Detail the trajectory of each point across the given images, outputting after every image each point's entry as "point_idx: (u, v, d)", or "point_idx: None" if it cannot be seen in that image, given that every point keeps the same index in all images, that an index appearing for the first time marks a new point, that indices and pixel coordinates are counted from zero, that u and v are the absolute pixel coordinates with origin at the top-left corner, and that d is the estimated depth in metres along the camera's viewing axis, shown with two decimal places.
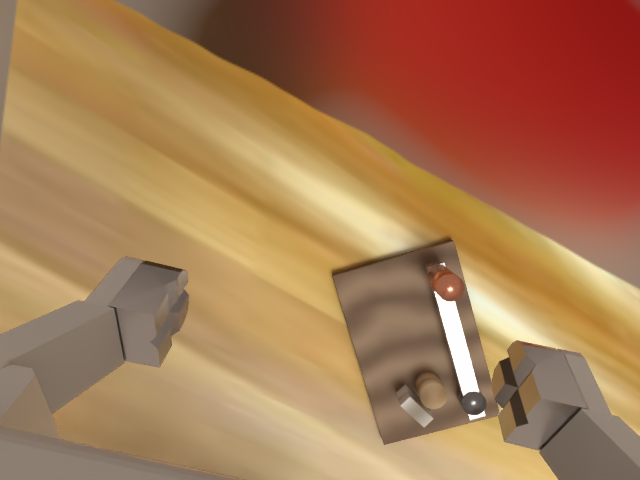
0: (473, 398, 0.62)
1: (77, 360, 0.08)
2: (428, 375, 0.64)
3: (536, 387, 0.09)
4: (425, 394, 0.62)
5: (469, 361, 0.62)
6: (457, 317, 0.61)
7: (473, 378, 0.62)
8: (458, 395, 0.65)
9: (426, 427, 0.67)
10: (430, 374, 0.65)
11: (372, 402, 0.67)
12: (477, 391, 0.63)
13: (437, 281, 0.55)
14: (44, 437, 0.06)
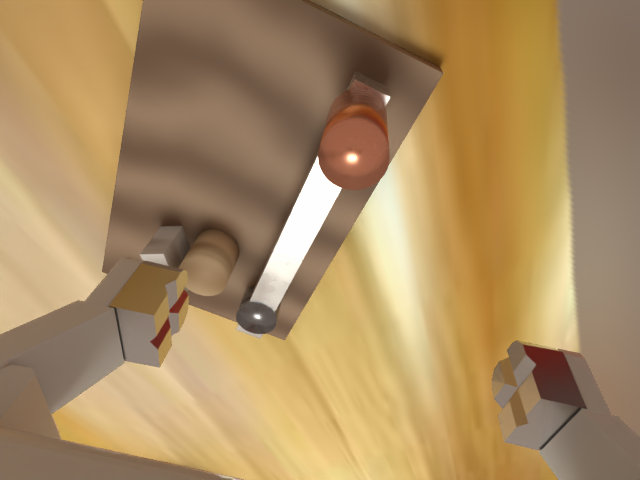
0: (260, 314, 0.37)
1: (77, 360, 0.08)
2: (222, 243, 0.35)
3: (536, 387, 0.09)
4: (191, 267, 0.33)
5: (293, 272, 0.34)
6: (329, 204, 0.30)
7: (281, 293, 0.35)
8: (247, 292, 0.38)
9: None
10: (227, 242, 0.35)
11: (113, 213, 0.36)
12: (273, 310, 0.36)
13: (340, 121, 0.21)
14: (44, 437, 0.06)
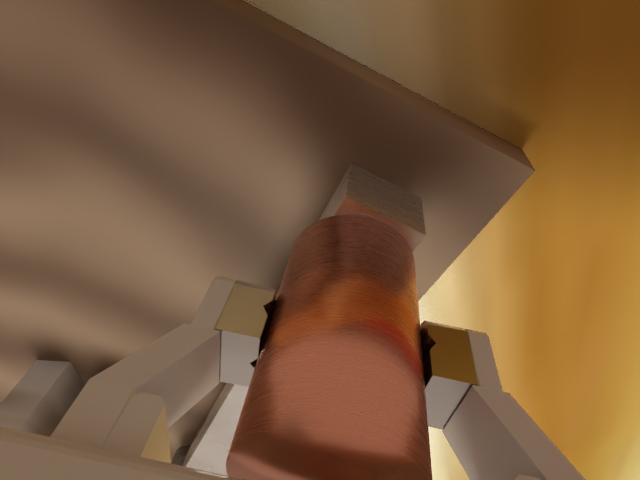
0: None
1: (185, 384, 0.08)
2: None
3: (432, 365, 0.09)
4: None
5: None
6: None
7: None
8: (177, 455, 0.24)
9: None
10: None
11: None
12: None
13: (289, 393, 0.07)
14: (44, 437, 0.06)
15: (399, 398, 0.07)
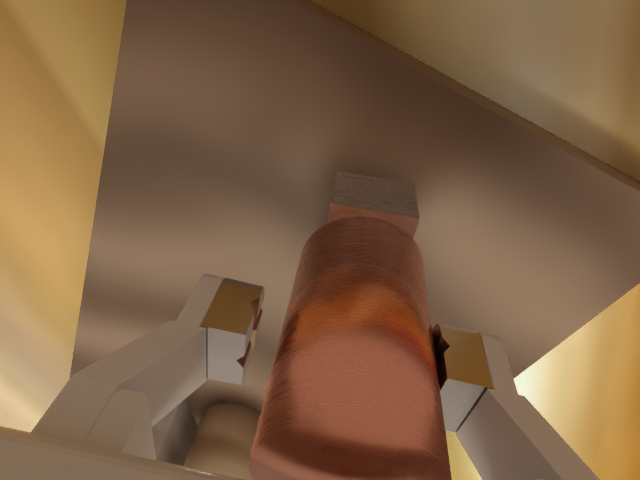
0: None
1: (171, 381, 0.08)
2: (247, 435, 0.22)
3: (446, 368, 0.09)
4: None
5: None
6: None
7: None
8: None
9: None
10: (254, 429, 0.22)
11: (74, 373, 0.23)
12: None
13: (286, 398, 0.07)
14: (44, 437, 0.06)
15: (392, 382, 0.07)
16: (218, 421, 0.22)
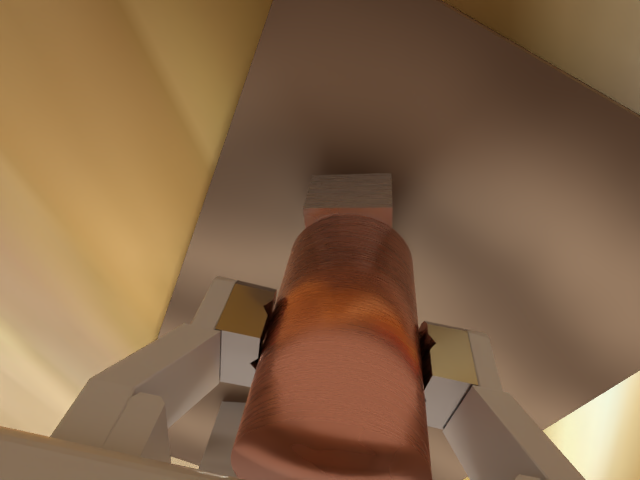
0: None
1: (185, 384, 0.08)
2: None
3: (432, 365, 0.09)
4: None
5: None
6: None
7: None
8: None
9: None
10: None
11: None
12: None
13: (253, 401, 0.07)
14: (44, 437, 0.06)
15: (351, 372, 0.07)
16: None
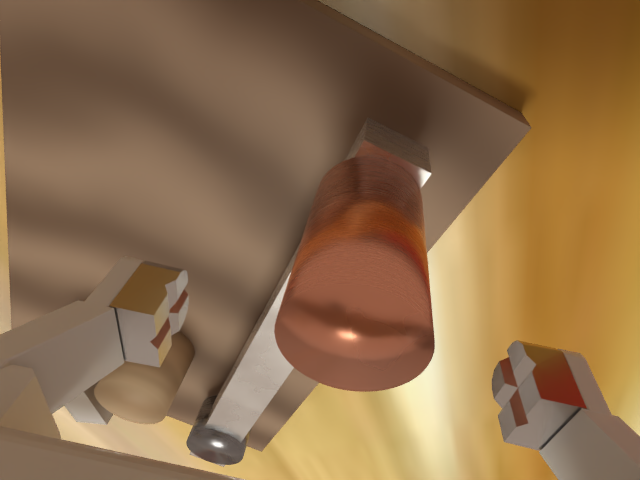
0: (219, 444, 0.25)
1: (77, 360, 0.08)
2: None
3: (536, 387, 0.09)
4: (112, 390, 0.22)
5: (264, 401, 0.22)
6: None
7: (248, 423, 0.24)
8: (205, 404, 0.27)
9: None
10: (173, 344, 0.24)
11: (13, 292, 0.25)
12: (238, 440, 0.25)
13: (325, 266, 0.09)
14: (44, 437, 0.06)
15: (408, 273, 0.09)
16: None
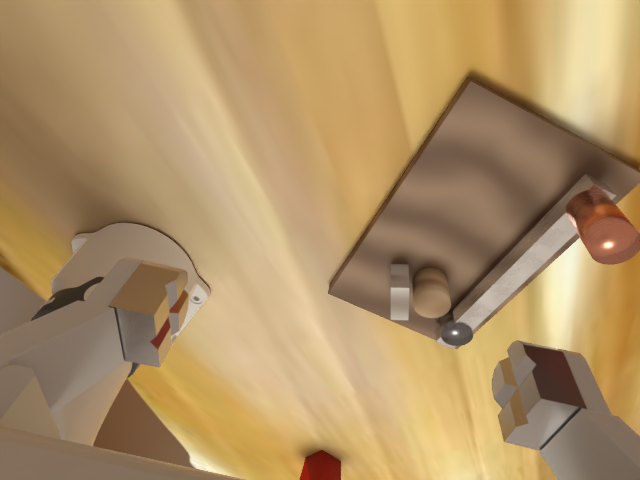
0: (462, 331, 0.49)
1: (77, 360, 0.08)
2: (442, 279, 0.47)
3: (536, 387, 0.09)
4: (426, 298, 0.46)
5: (499, 303, 0.46)
6: (545, 259, 0.42)
7: (483, 317, 0.47)
8: (446, 314, 0.50)
9: (383, 310, 0.53)
10: (444, 278, 0.48)
11: (357, 253, 0.48)
12: (472, 328, 0.49)
13: (611, 224, 0.33)
14: (44, 437, 0.06)
15: (633, 226, 0.33)
16: (428, 274, 0.47)
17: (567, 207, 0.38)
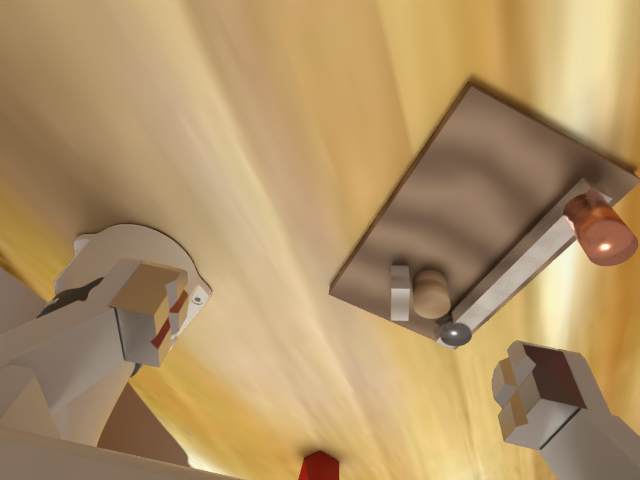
0: (461, 332, 0.50)
1: (77, 360, 0.08)
2: (442, 280, 0.48)
3: (536, 387, 0.09)
4: (426, 299, 0.46)
5: (497, 304, 0.47)
6: (543, 261, 0.43)
7: (482, 318, 0.48)
8: (445, 314, 0.51)
9: (383, 311, 0.54)
10: (444, 279, 0.48)
11: (357, 254, 0.49)
12: (471, 329, 0.49)
13: (608, 227, 0.34)
14: (44, 437, 0.06)
15: None
16: (428, 275, 0.48)
17: (565, 210, 0.39)
